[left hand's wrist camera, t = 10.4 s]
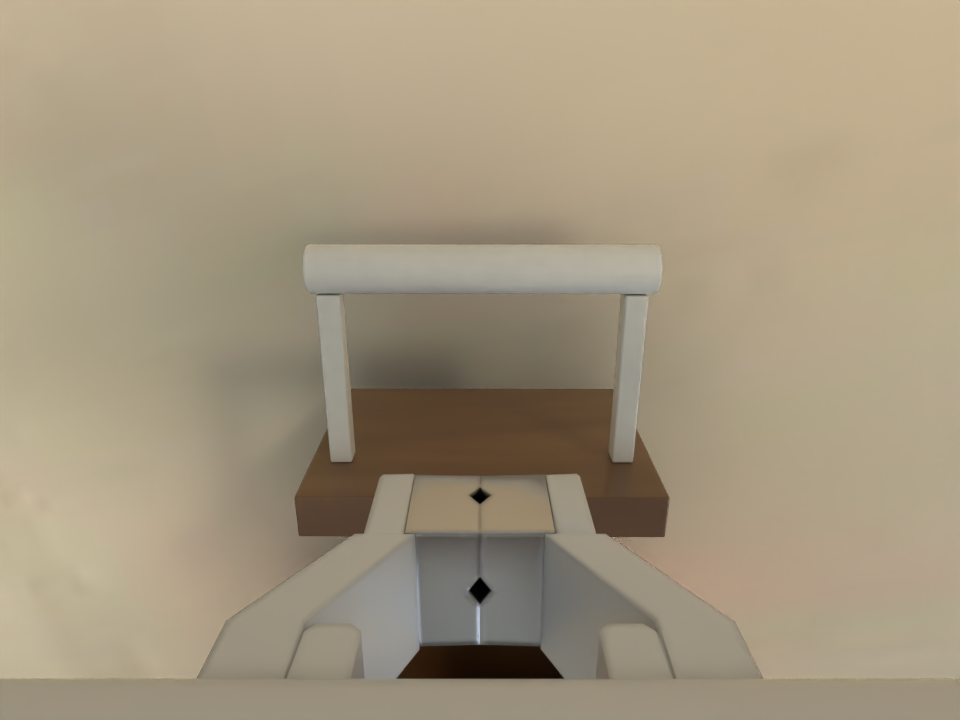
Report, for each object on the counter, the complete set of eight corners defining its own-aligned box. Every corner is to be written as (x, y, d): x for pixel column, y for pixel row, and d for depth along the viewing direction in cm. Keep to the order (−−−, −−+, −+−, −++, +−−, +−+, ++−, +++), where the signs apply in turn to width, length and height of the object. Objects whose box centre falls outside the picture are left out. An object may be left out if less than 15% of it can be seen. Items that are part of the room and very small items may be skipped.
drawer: (332, 214, 21) (266, 262, 15) (632, 214, 21) (698, 263, 15) (377, 791, 31) (349, 975, 24) (585, 791, 31) (612, 975, 24)
